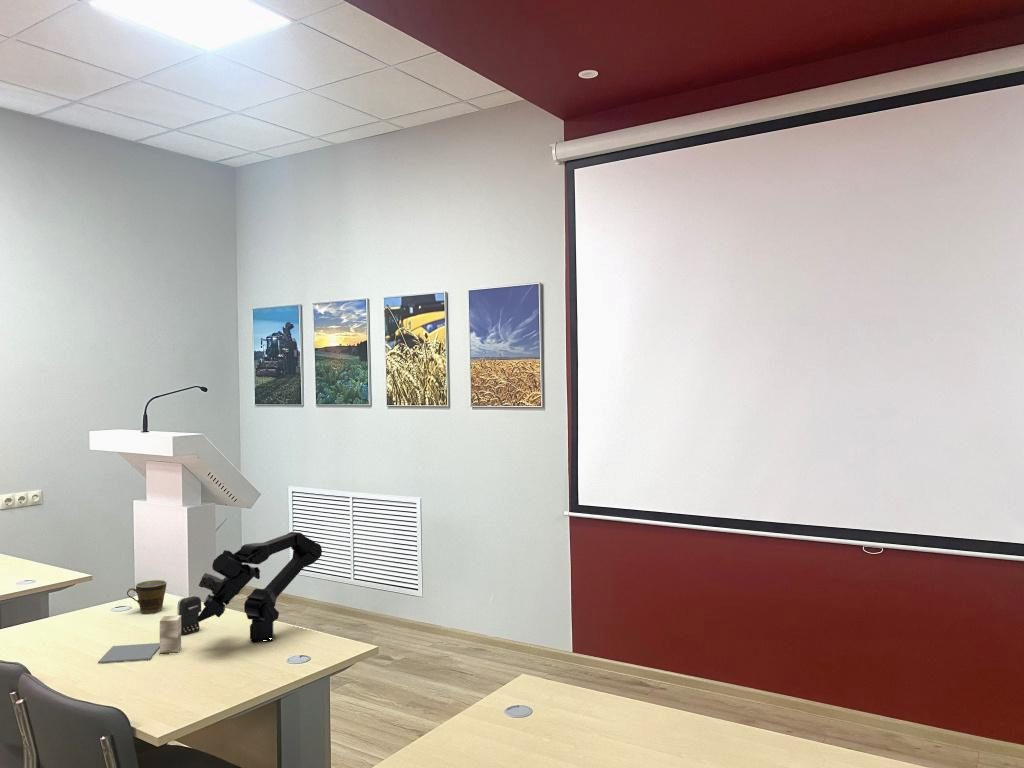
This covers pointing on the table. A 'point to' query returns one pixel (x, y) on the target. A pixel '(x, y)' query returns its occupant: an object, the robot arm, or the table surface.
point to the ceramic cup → (150, 596)
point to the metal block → (170, 634)
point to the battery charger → (189, 614)
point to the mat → (130, 653)
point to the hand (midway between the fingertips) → (197, 620)
